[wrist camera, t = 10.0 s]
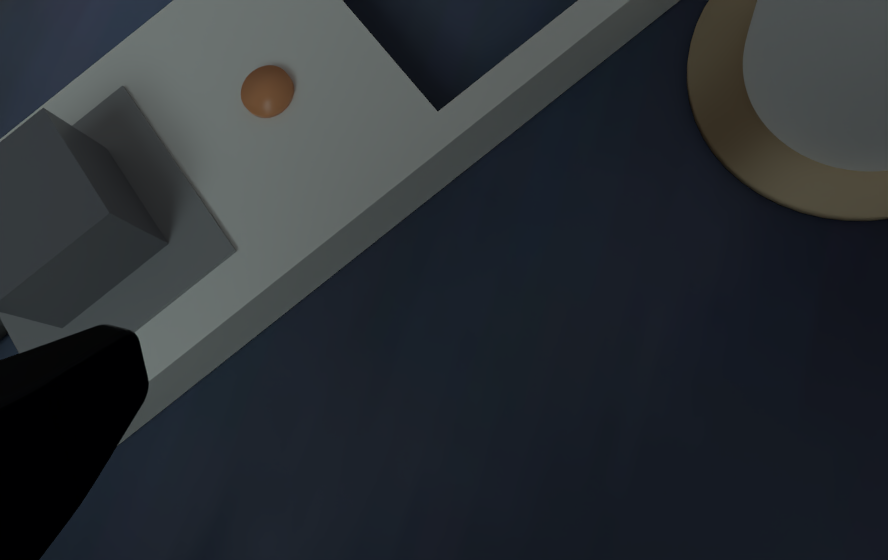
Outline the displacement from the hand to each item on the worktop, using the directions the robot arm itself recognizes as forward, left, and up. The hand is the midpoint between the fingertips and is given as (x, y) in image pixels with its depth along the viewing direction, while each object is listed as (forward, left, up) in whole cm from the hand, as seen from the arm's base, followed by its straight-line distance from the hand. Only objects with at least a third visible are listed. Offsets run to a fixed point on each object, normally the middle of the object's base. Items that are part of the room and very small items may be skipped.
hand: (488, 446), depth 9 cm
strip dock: (+14, -1, -14) cm, 19 cm away
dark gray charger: (+14, +7, -11) cm, 19 cm away
